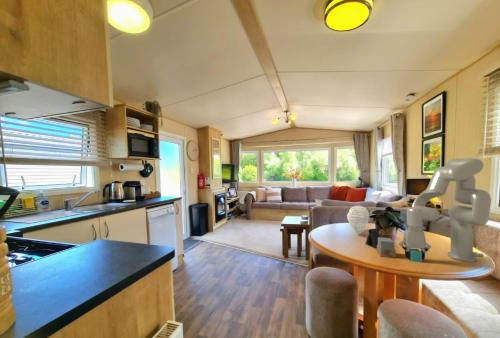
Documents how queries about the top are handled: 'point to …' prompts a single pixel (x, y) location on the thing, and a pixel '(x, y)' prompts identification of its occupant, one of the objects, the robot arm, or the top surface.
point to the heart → (358, 231)
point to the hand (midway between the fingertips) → (414, 257)
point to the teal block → (415, 255)
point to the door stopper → (373, 238)
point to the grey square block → (386, 252)
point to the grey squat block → (385, 243)
